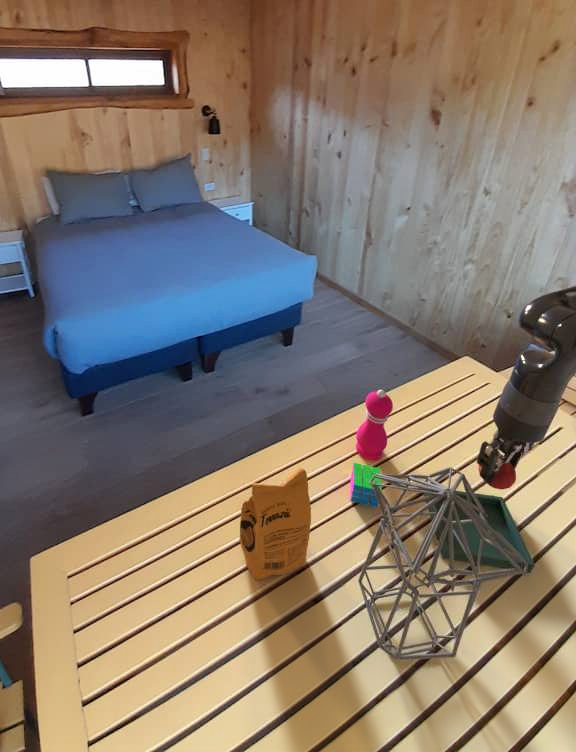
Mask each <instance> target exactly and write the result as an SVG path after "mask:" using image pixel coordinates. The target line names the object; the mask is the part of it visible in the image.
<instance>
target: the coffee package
mask: <svg viewBox="0 0 576 752" xmlns="http://www.w3.org/2000/svg"><path fill="white" fill-rule="evenodd" d="M251 490H252V491H251V495H250V497H249V498H247V499H246V500H244V501H243V503H242V506H241V509H240V521H239V543H240V548H241V549H242V552H243V555H244V557H245V562H246V568H247V569H248V571H249V572H250V574H251V575H252V576H253V578H254V579H255V580H257V581H258V580H259V581H260V580H262V579H266V578H268V577H271V576H273V575H276V576H277V575H278V576H279V575H286V574H288V573H290V572H292V571H294V570H295V569H296V568H298V567H300V566H302V565H303V564H305V563H306V558H307V552H308V546H309V541H310V536H311V535H310V534H311V525H312V506H311V499H310V495H309V480H308V474H307V471H306V470H305V469H304V468H303V467H298V468H297V469H296V470H294V472H293V473H292V474H290V475H289V476H288V477H287V478H286V481H285V482H284V483H282V484H280V485H279V484H278V485H277V484H267V483H257V482H251Z"/></svg>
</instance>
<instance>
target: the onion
mask: <svg viewBox="0 0 576 752" xmlns="http://www.w3.org/2000/svg"><path fill="white" fill-rule="evenodd" d="M500 454H501V453H500ZM501 455H503V453H502V454H501ZM497 462H498V459H497ZM496 464H497V463H496ZM481 469H482V467H481V466H480V465H479V464H478V472H479V474H480V471H481ZM481 479H482V480H483V481H484V483H485V484H487V485H488V486H489V487H490V488H493V489H496V490H507V489H511V488H512V486H514V485H515V483H516V481H517V472H516V468H514V467H513V465H512V464H511V463H510V461H509V462H508V463H503V465H502V466H501V467H500V469H499V471H498V473H497V475H496V477H495V479H494V482H493V483H491V484H489V483H487V482H486V481H485V480H484V479H483V478H482V477H481Z"/></svg>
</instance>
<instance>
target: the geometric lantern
mask: <svg viewBox="0 0 576 752" xmlns="http://www.w3.org/2000/svg"><path fill="white" fill-rule="evenodd" d="M453 472H455V473H457V474H458V477H457V479H455V481H454V483H453V485H452V486H451V481H452V474H453ZM447 475H448V479H447V480H448V481H447V487H446V486H445V485H443V484H441V483H440V482H439V481H441V480H442V479H443V478H444V477H445V478H446V476H447ZM374 478H379V479H381V481H383V482H386V483H389V484H382V483H381V484H377V483H376V482H375V481H373V480H374ZM405 479H406V480H405ZM461 483H462V485H463V488H464V492H466V496H467V500H468V501H467V500H465V499H463V498H462V497H460V496H458V495H456V494H455V493H454V492H455V491H457V489H458V487H459V486H460V485H461ZM369 484H370V485H373V488H374V491H375V494H376V497H377V500H378V503H379V504H378V507H379V508H380V511H381V514H382V517H383V518H382V517H381V518H380V522H379V524H378V527H377V528H376V529H377V530H376V533H375V535H374V538H373V540H372V543H371V546H370V548H369V551H368V553H367V556H366V559H365V562H364V564H363V567H362V568H361V571H360V573H359V576H358V579H357V581H358V585H359V587H360V591H361V594H362V597H363V601H364V604H365V607H366V610H367V614H368V616H369V619H370V623H371V626H372V630H373V632H374V636H375V639H376V642H377V646H378V647H379V648H380V649H381V650H382V651H383V652H385V654H387V655H389V656H390V657H391V658H393V659H395V660H396V661H398V662H400V661H413V660H415V661H416V660H432V659H448V658H449V659H450V658H451V659H453V658H455V657H457V653H458V650H459V646H460V643H461V640H462V637H463V635H464V634H463V633H464V632H465V631H464V630H465V628H466V625H467V621H468V618H469V616H470V613H471V611H472V608H473V606H474V604H475V602H476V599H477V597H478V594H479V592H480V590H481V587H482V585H483V584H485V583H486V582H490V581H495V580H498V579H504V578H508V577H513V576H517V575H523V576H524V577H527V574H528V573H527V568H528V563H527V562H526V561H525V560H524V559H523V557H522V555H521V554H520V553H519V552H518V551H517V550H516V549H515V548H514V547H513V546H512V545H511V544H510V543H509V542H508V541H507V540H506V539H505V538H504V537H503V536H502V535H501V534H500V533H499V532H498V531H496V530H494V529H493V528H491V527H490V525H489V524H488V522H487V520H486V517H487V516H488V515H487V514H486V513H485V511H484V509H483V507H482V505H481V504H480V502H479V500H478V498H477V497H476V495H475V493H476V492H474V490H473V488H472V486H471V484H470V482H469V481H468V479H467V477H466V475H465V474H464V473H463V472H460V471H459V470H457V469H454V468H453V467H451V466H450V467H449V466H448V467H446V468H443V469H441V470H438V471H435V472H432V473H430V474H429V475H427V474H426V475H424V474H390V473H381V474H377V473H376V474H375V475H374V476H373V477H372V479H371V481H370V482H369ZM390 484H391V485H390ZM378 486H382V488H388V489H396V490H401V493H400V494H399V496H398V498H397V499H396V501H395V503H394V504H393V505H392V506H390V504H389V502H388V499H386V497H385V495H384V494H383V491H382V492H381V490H380V488H379V487H378ZM425 490H429V491H433V492H428V491H425ZM449 490H450V491H449ZM407 492H415V493H421V494H425V496H426V497H424V496H423V497H419V498H417V499H413V500H410V501H407V502H403V503H401V502H402V500H403V498H404V497H405V495H406V494H407ZM435 492H437V493H435ZM470 493H471V495H472V497H473V499H474V500H475V502H476V504H477V506H478V507H477V506H475V505H474V504H472V500H471V496H470ZM427 494H432V495H429V496H427ZM445 496H446V497H445ZM444 497H445V500H444V502H443V504H442V506H441V508H440V510H439V512H437V510H436V508H435V507H434V505H435V504H436V503H437V502H439V501H440V500H441V499H443V498H444ZM432 499H433V500H432ZM430 500H432V501H430ZM425 501H429V503H428V504H426V502H425ZM423 503H425V505H423V506H422V507H420V508H419V509H418V510H416V511H415V512H414V513H402V514H394V512H395V511H398V510H402V509H404V508H408V507H411V506H415V505H418V504H423ZM455 503H456V504H457V505H458V506H459V507H460V508H461V509H462V510H463V511H464V513H465V514H466V515H467V516H468V517H469V518H470V519H471V520H460V519H459V516H458V513H457V510H456V507H455ZM384 506H385V507H384ZM430 507H433V509H434V510H435V512H430V513H429V512H427V511H428V509H429V508H430ZM447 507H448V518H447V519H446V518H444V517H443V515H444V513H445V511H446V509H447ZM474 509H475V510H477V511H478V512H480V516H479V515H478V514H477V513H476V512H475V511H474ZM452 512H453V515H454V518H455V521H452ZM430 515H435V516H434V518H433V520H432V522H430V525H429V527H428V528H427V531H426V533H425V535H424V537H423V539H422V541H421V544H420V545H419V548H418V550H417V551H416V553H415V556H414V557H413V560H412V558H411V556H410V554H409V552H408V550H407V548H406V546H405V544H404V542H403V540H402V538H401V536H400V535H399V531H400V530H401V529H403V528H404V527H406V526H407V525H409V524H410V523H411V522H413V521H414V520H415V519H417V518H418V517H423V516H430ZM394 518H406V519H404V520H403V521H402V522H400V523H399V524H397V525H396V523H395V519H394ZM441 520H443V521H444V522H445V523H446V525H445V528H444V530H443V533H442V536H441V538H440V541H439V544H438V543H437V546H436V549H435V551H434V555H433V556H432V559H431V563H430V565H429V568H428V570H427V571H425V570H424V569H422V568H421V567H422V564H423V562H424V560H425V558H426V555H427V553H428V551H429V549H430V547H431V545H432V543H433V540H434V538H435V537H436V535H435V533H436V531H437V529H438V527H439V524H440V522H441ZM477 520H478V521H477ZM469 523H474V524H475V526H476V527H477V529H478V531H479V533H480V535H481V537H482V539H483V540H484V542H486V543H488V544H490V545H492V546H494V547H495V548H497V549H498V550H499V551H500V552H501V553H502V554H503V555H504V556H505V557H506V558H507V559H508V560H509V562H510V563H511V564H512V565H513V566H514V567H515V568H514V569H499V570H491V571H481V572H480V567H481V565H480V559H481V551H482V544H483V540H482V539H481V540H480V547H479V554H478V562H477V564H475V563H474V560H473V557H472V554H471V551H470V548H469V546H468V543H467V540H466V537H465V534H464V531H463V528H462V525H461V524H469ZM480 523H481V524H482V525H483V526H485V527H486V528H487V530H488V532H489V533H488V532H487V531H486V529H485V528H484V527H483V526H482V525H481V524H480ZM390 525H391V526H390ZM453 525H457V527H458V530H459V532H460V535H461V538H462V541H463V543H462V542H461V540H460V538H459V536H458V535H457V533H456V531H455V530H454V528H453ZM391 527H393V528H391ZM386 530H387V532H388V534H389V536H390V539H389V537H388V535H387V532H386ZM447 531H448V535H449V560H448V561H449V568H447V569H446V570H442V571H439V572H435V571H436V568H437V564H438V561H439V558H440V555H441V552H440V551H441V548H442V545H443V542H444V539H445V536H446V534H447ZM453 533H454V534H455V536H456V538H457V540H458V541H459V543H460V545H461V547H462V548H463V550H464V552H465V554H466V555H467V557H468V559H469V562H470V563H469V565H470V568H471V570H467V569H457V568H455V561H454V548H453ZM485 535H486V536H485ZM383 536H384V538H385V541H386V544H387V546H388V548H389V550H390V553H391V556H392V558H393V560H394V563H395V564H385V565H383V564H381V565H370V562H371V560H372V559H373V556H374V554H375V552H376V549H377V548H378V546H379V543H380V541H381V539H382V537H383ZM492 536H493V537H492ZM486 537H487V538H488V539H487V538H486ZM497 538H499V539H500V540H501V541H502V542H503V543H504V544H505V545H506V546H507V547H508V548H509V549H510V550H511V551H510V550H508V549H506V548H504V547H502V546H500V545H499V544H498V542H497V541H496V539H497ZM463 544H464V545H463ZM392 545H393V547H392ZM509 555H510V556H512V557H514V558H516V559H518V560H520V561H523V562H524V563H525V567H524V572H523V570H522V569H521V567H520V566H519V565H518V564H517V563H516V562H515V561H514V560H513V559H512V558H511V557H510V556H509ZM402 559H403V560H404V562H405V563H403V560H402ZM405 568H409V573H408V578H407V575H406V571H405ZM390 569H397V570H398V573H399V575H400V578H401V580H402V583H401V585H400V586H397V587H391V588H388V589H387V588H386V589H382V590H377V591H374V588H373V586H372V583H371V581H370V577H369V575H368V572H367V571H373V570H374V571H377V570H390ZM419 572H420V573H421V574H422V575H424V577H423V578H422V579H421V578H419V577H418V574H419ZM456 575H460V576H467V577H473V576H474V578H471V579H470V578H469V579H461V580H457V579H456V578H455V576H456ZM364 576H365V577H366V581H367V583H368V585H369V588H370V591H371V593H370V592H369V590H368V588H366V587H365V585H364V584H363V582H362V581H363V579H364ZM448 576H450V577H451V578H452V580H451V579H446V578H445V577H448ZM412 577H413V578H414V579H415V580H416V581H418V583H417V584H413V583H412V582H411V581H412ZM425 581H426V582H425ZM435 584H441V585H448V586H449V587H450V591H451V592H449V591H448V592H438V590H437V588H436V585H435ZM463 586H471V589H470V590H465V591H455V588H456V587H463ZM421 587H426V588H427V589H430V588H431V590H432V591H433V592H432V593H421V594H420V591H419V590H418V588H421ZM407 590H410V591H411V592H410V593H409V592H407ZM394 591H396V592H394ZM389 592H390V593H389ZM404 594H405V595H407V596H408V597H410V598H411V600H412V601H411V602H410V607H409V610H408V613H407V617H406V620H405V623H404V627H403V629H402V634H401V637H400V641H399V644H398V646H396V645H394V644H393V642H392V639H391V637H390V635H389V633H388V631H389V630H390V629H389V628H390V627H391V624H392V621H393V620H394V617H395V614H396V612H397V609H398V607H399V605H400V602H401V599H402V597H403V595H404ZM367 595H368V596H369V600H368V598H367ZM468 595H469V597H468V599H467V603H466V606H465V609H464V613H463V615H462V617H461V621H460V623H459V625H458V627H457V630H456V629H455V627H454V624H453V622H452V620H451V618H450V616H449V614H448V612H447V609H446V607H445V606H444V603H443V601H442V599H441V597H452V596H468ZM393 596H396V598H395V600H394V603H393V605H392V607H391V610H390V613H389V615H388V618H387V621H386V623H384V620H383V617H382V615H381V613H380V611H379V609H378V606H377V603H376V600H377V599H382V598H383V599H384V598H389V597H393ZM419 598H420V599H424V598H426V599H427V598H436V600H437V601H438V604H439V606H440V608H441V610H442V612H443V614H444V617H445V619H446V621H447V623H448V626H449V628H450V630H451V632H452V634H453V635H445V634H444V635H443V634H438V633H437V632H436V629H435V628H434V626H433V624H432V622H431V621H430V618H429V616H428V614H427V612H426V611H425V609H424V607H423V605H422V603H421V601H420V599H419ZM372 606H374V609H375V611H376V613H377V616H378V618H379V621H380V623H381V626H382V628H383V630H382V629H381V627H380V624H379V622H378V619H377V616H376V614H375V611H374V609H373V607H372ZM419 607H420V608H419ZM415 609H416V610H417V612H418V614H419V616H420V619H421V621H422V623H423V624H424V627H425V629H426V631H427V633H428V636H429V637H430V639H431V640H427V641H423V642H419V643H413V644H408V645H405V642H406V639H407V635H408V633H409V628H410V625H411V621H412V620H413V615H414V613H415ZM422 613H423V614H422ZM423 615H424V616H425V618H424V616H423ZM426 621H427V622H426ZM428 625H429V626H430V628H429V626H428ZM430 629H431V630H430ZM431 631H432V633H433V634H432V633H431ZM386 639H387V640H388V643H389V644H387V641H386ZM438 639H445V640H446V639H447V640H454V643H453V646H452V647H453V648H452V651H450V650H449V649H447V648H446V647H445V646H444V645H442V644H440V643H439V642H438V641H437V640H438ZM428 645H429V647H425V648H421V649H415V648H419V647H423V646H428ZM430 645H431V646H430ZM435 645H436V646H437V647H439V648H440V649H441V650H443V651H444V652H442V653H441V652H440V653H425V652H429V651H430V652H431V651H433V650H434V649H435ZM392 649H394V650H395V652H393V651H392ZM409 649H414V650H410V651H406V652H403V651H404V650H409ZM420 653H422V654H420Z"/></svg>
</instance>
